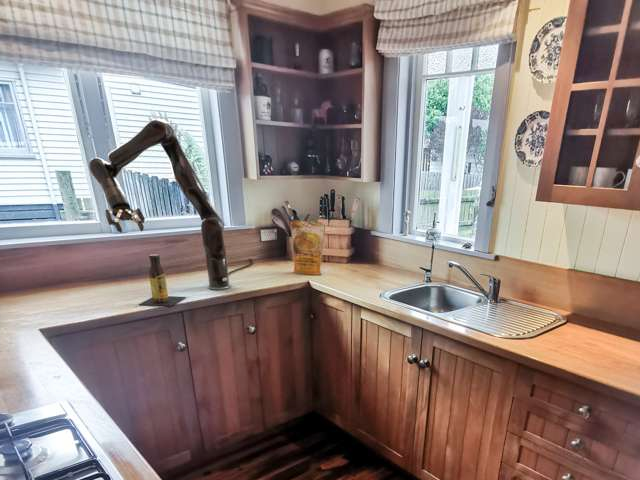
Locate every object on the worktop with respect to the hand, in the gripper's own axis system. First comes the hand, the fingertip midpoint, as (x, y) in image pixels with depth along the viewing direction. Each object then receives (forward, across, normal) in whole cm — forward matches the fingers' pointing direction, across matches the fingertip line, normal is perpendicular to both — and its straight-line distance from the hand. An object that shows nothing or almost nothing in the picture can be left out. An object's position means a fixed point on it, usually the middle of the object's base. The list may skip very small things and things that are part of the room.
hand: (131, 230), depth 197 cm
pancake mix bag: (+25, +87, +16) cm, 92 cm away
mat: (+30, +4, +11) cm, 32 cm away
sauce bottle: (+30, +3, +11) cm, 32 cm away
